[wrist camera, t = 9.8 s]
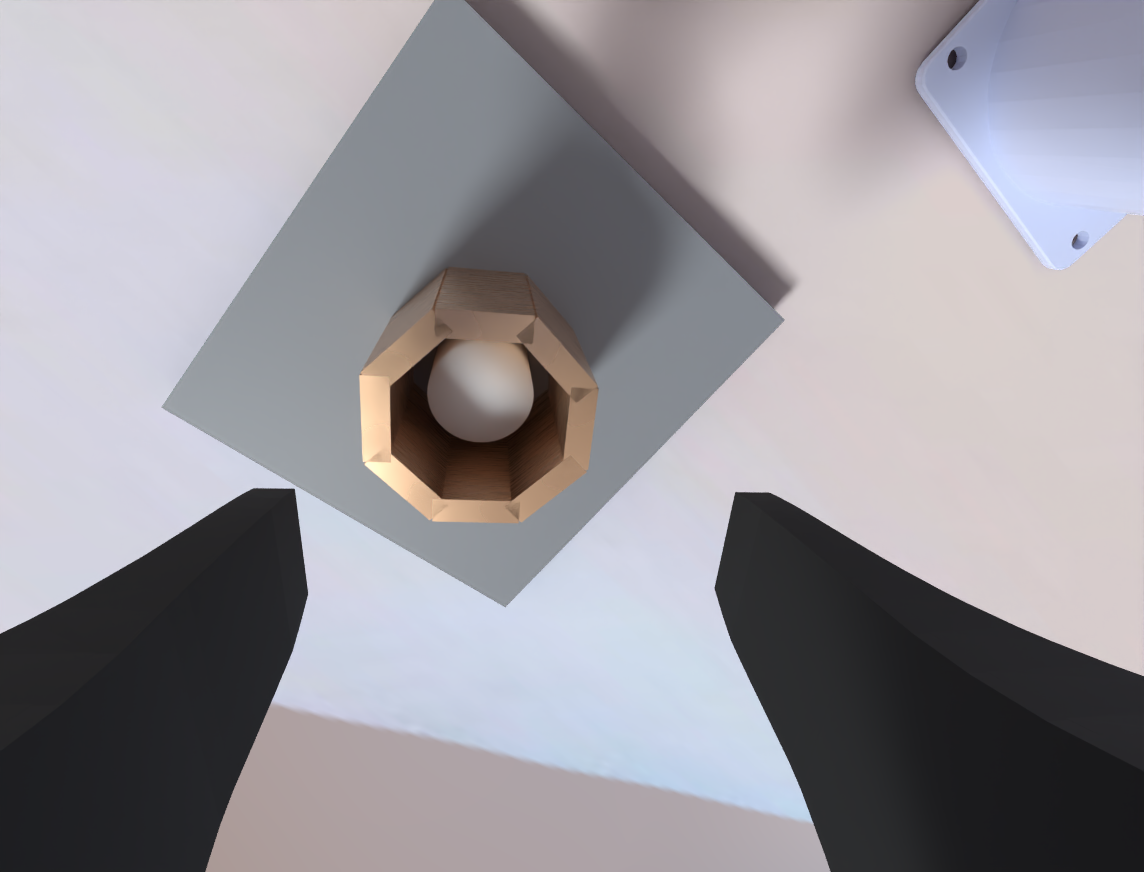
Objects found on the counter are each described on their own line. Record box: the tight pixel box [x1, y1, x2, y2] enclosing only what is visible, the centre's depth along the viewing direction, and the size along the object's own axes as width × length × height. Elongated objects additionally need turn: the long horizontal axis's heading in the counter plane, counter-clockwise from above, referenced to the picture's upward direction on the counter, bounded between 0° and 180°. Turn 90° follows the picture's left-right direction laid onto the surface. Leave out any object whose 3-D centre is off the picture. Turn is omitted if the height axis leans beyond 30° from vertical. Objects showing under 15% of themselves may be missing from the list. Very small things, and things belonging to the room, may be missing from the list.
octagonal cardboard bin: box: [359, 267, 599, 523], centre depth 16 cm, size 5×5×4 cm
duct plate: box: [162, 0, 784, 607], centre depth 17 cm, size 13×12×4 cm
